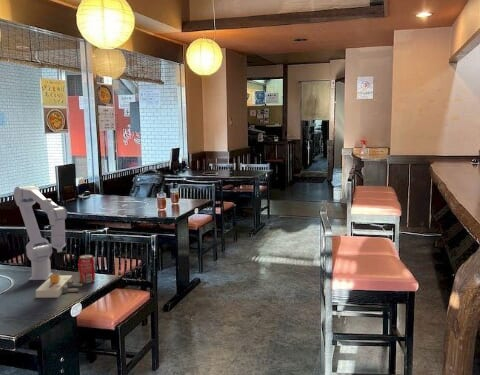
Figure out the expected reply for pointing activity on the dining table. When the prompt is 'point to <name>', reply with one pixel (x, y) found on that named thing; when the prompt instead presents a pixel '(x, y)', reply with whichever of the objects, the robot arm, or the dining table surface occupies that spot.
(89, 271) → the soda can
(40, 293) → the slider switch box
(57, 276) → the knob
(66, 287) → the white peg legs
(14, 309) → the dining table surface
